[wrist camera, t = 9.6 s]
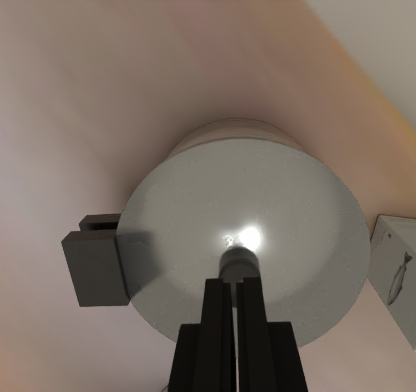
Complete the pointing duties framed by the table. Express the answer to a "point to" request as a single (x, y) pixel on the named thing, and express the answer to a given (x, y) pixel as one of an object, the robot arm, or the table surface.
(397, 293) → the supplement box
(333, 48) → the table surface
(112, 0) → the table surface
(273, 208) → the cooker lid
